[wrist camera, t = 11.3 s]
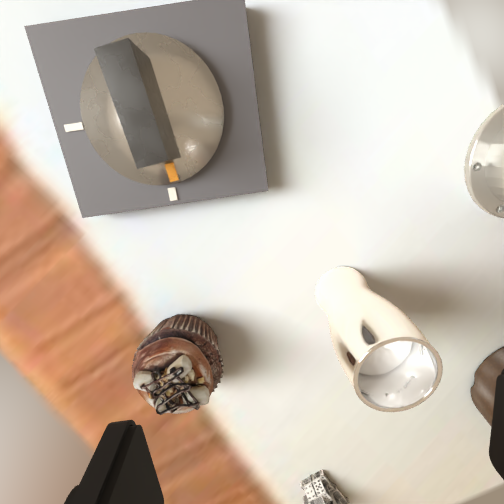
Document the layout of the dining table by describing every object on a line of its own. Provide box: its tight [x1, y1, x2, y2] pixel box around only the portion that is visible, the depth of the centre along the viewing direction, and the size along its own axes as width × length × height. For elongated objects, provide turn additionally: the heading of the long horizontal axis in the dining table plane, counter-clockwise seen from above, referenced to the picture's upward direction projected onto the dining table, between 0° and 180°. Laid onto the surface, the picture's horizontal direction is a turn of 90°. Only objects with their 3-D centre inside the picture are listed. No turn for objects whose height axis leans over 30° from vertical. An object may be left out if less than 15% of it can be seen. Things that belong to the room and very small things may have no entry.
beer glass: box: [315, 267, 442, 412], centre depth 32 cm, size 7×7×15 cm
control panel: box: [25, 0, 268, 218], centre depth 31 cm, size 18×16×3 cm
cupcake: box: [132, 315, 224, 415], centre depth 35 cm, size 10×10×10 cm
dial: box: [80, 32, 224, 185], centre depth 26 cm, size 12×12×6 cm
